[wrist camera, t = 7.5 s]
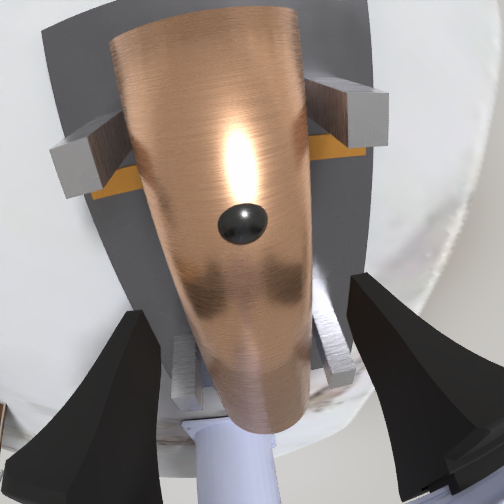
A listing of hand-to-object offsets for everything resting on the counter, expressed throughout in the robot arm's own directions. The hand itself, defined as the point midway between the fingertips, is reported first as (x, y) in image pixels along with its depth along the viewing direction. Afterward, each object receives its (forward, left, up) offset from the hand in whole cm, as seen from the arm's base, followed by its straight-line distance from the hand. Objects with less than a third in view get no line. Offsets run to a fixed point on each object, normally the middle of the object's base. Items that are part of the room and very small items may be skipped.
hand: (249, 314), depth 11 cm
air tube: (0, 0, -4) cm, 4 cm away
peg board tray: (0, 0, -5) cm, 5 cm away
